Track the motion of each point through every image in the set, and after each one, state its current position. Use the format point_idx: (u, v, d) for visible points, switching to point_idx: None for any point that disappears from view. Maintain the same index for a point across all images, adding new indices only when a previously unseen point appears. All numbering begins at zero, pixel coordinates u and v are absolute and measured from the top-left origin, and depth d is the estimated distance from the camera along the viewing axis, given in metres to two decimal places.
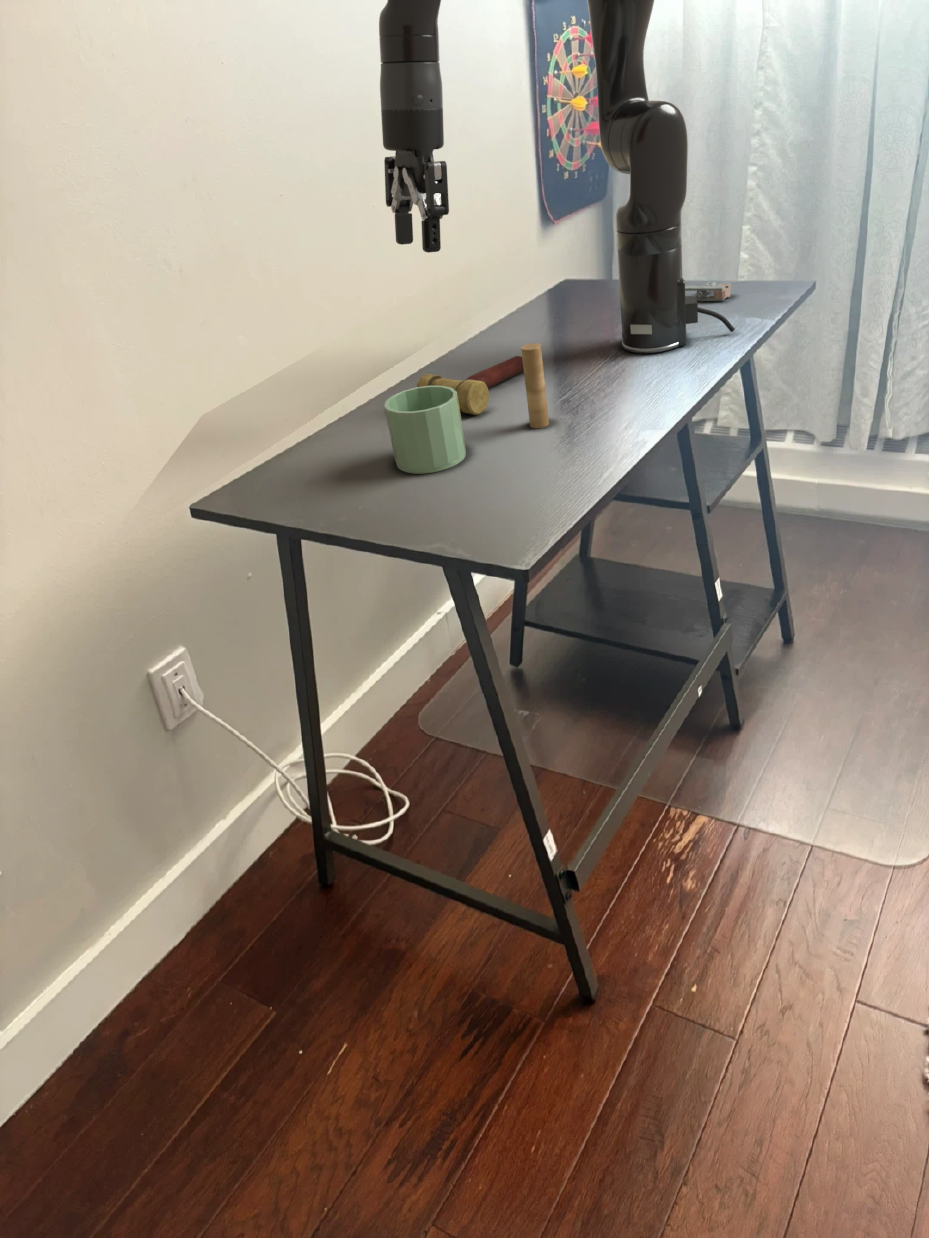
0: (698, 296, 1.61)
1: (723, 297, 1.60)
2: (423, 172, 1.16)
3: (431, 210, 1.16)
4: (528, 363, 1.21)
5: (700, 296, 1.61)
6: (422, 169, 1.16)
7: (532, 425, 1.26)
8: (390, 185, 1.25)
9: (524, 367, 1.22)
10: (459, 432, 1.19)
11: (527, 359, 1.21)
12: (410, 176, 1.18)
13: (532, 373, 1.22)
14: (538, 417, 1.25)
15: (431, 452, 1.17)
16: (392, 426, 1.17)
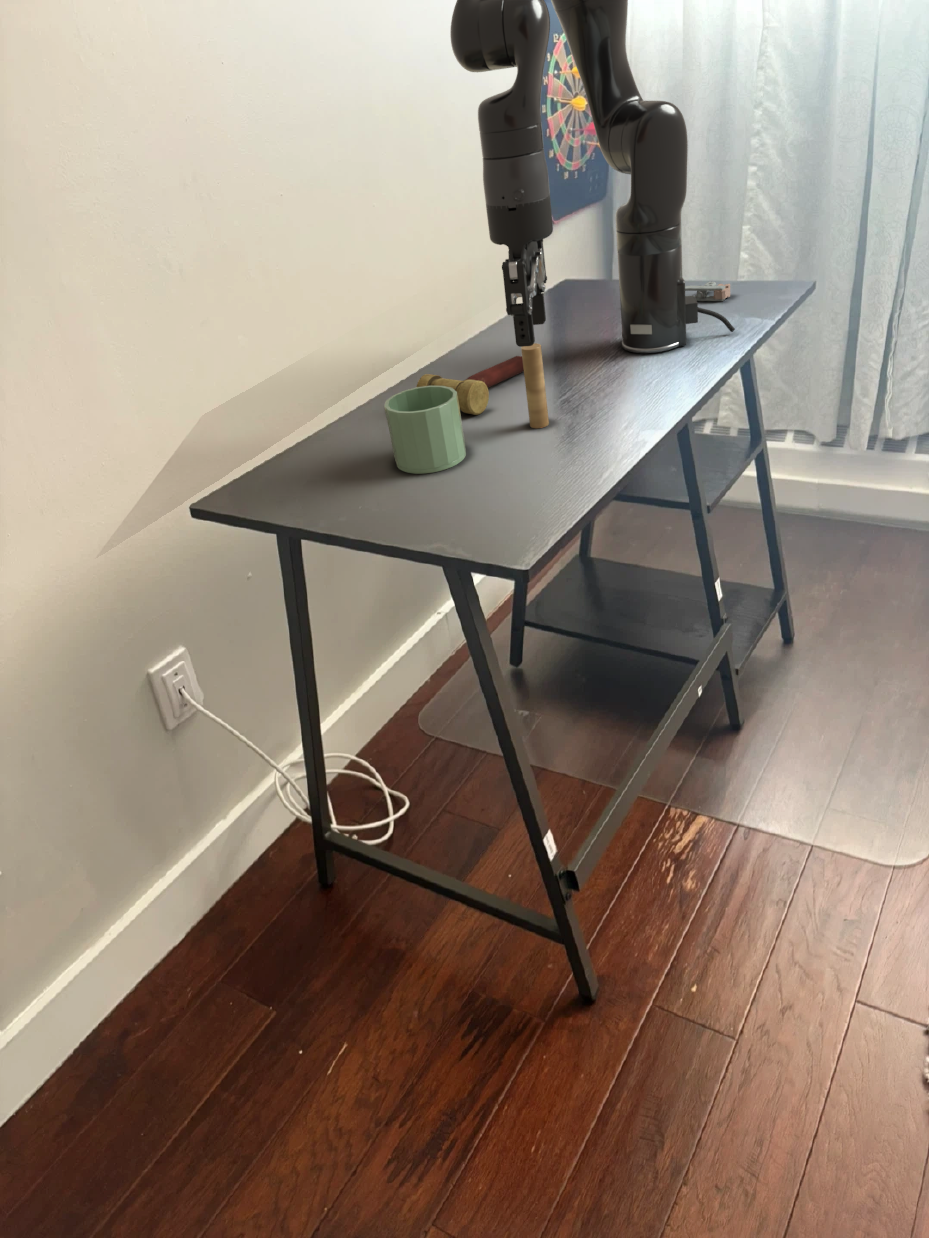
0: (698, 296, 1.61)
1: (723, 297, 1.60)
2: None
3: (545, 276, 1.23)
4: (528, 363, 1.21)
5: (700, 296, 1.61)
6: None
7: (532, 425, 1.26)
8: None
9: (524, 367, 1.22)
10: (459, 432, 1.19)
11: (527, 359, 1.21)
12: None
13: (532, 373, 1.22)
14: (538, 417, 1.25)
15: (431, 452, 1.17)
16: (392, 426, 1.17)
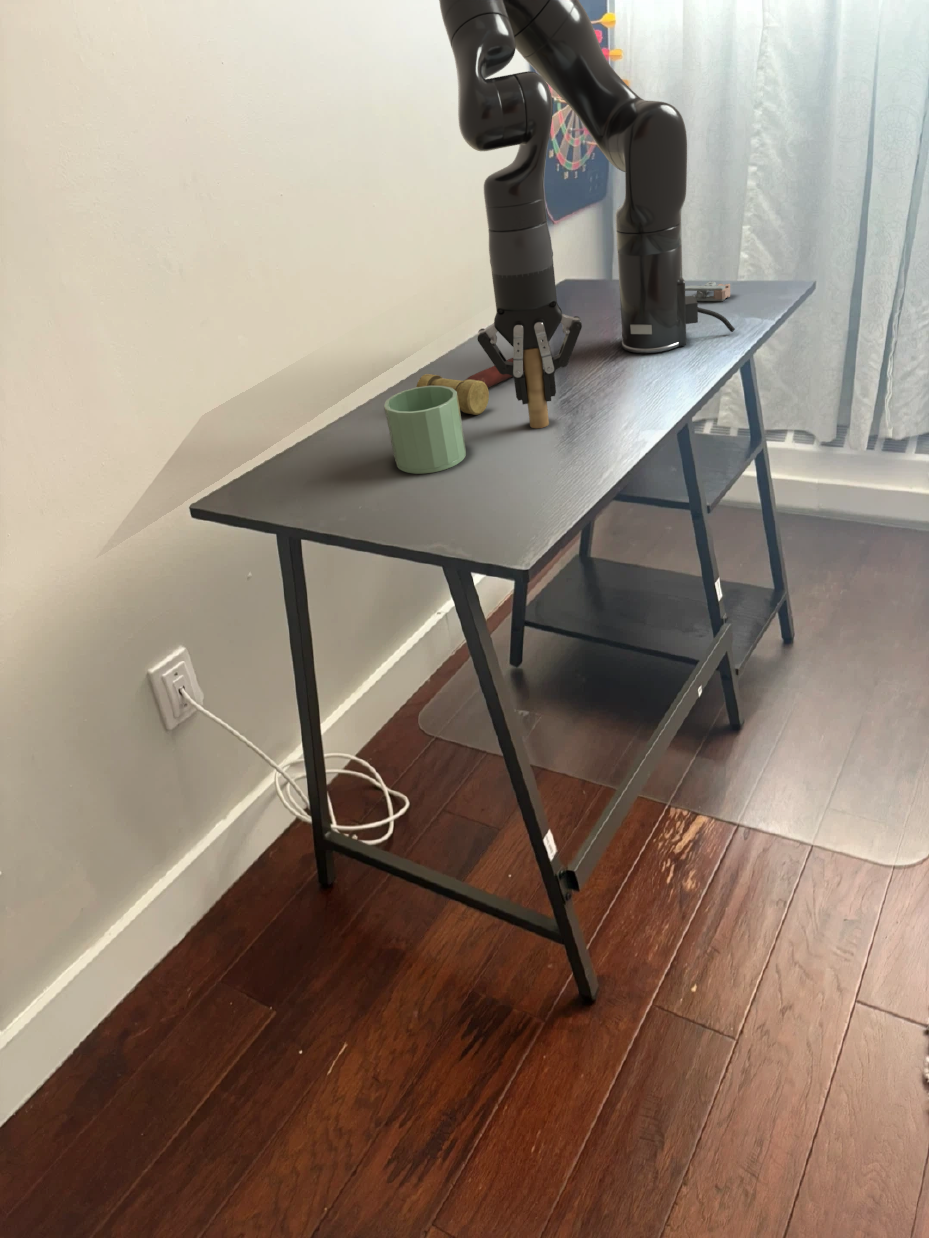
0: (698, 296, 1.61)
1: (723, 297, 1.60)
2: None
3: None
4: (528, 363, 1.21)
5: (700, 296, 1.61)
6: None
7: (532, 425, 1.26)
8: (563, 340, 1.21)
9: (524, 367, 1.22)
10: (459, 432, 1.19)
11: (527, 359, 1.21)
12: None
13: (532, 373, 1.22)
14: (538, 417, 1.25)
15: (431, 452, 1.17)
16: (392, 426, 1.17)
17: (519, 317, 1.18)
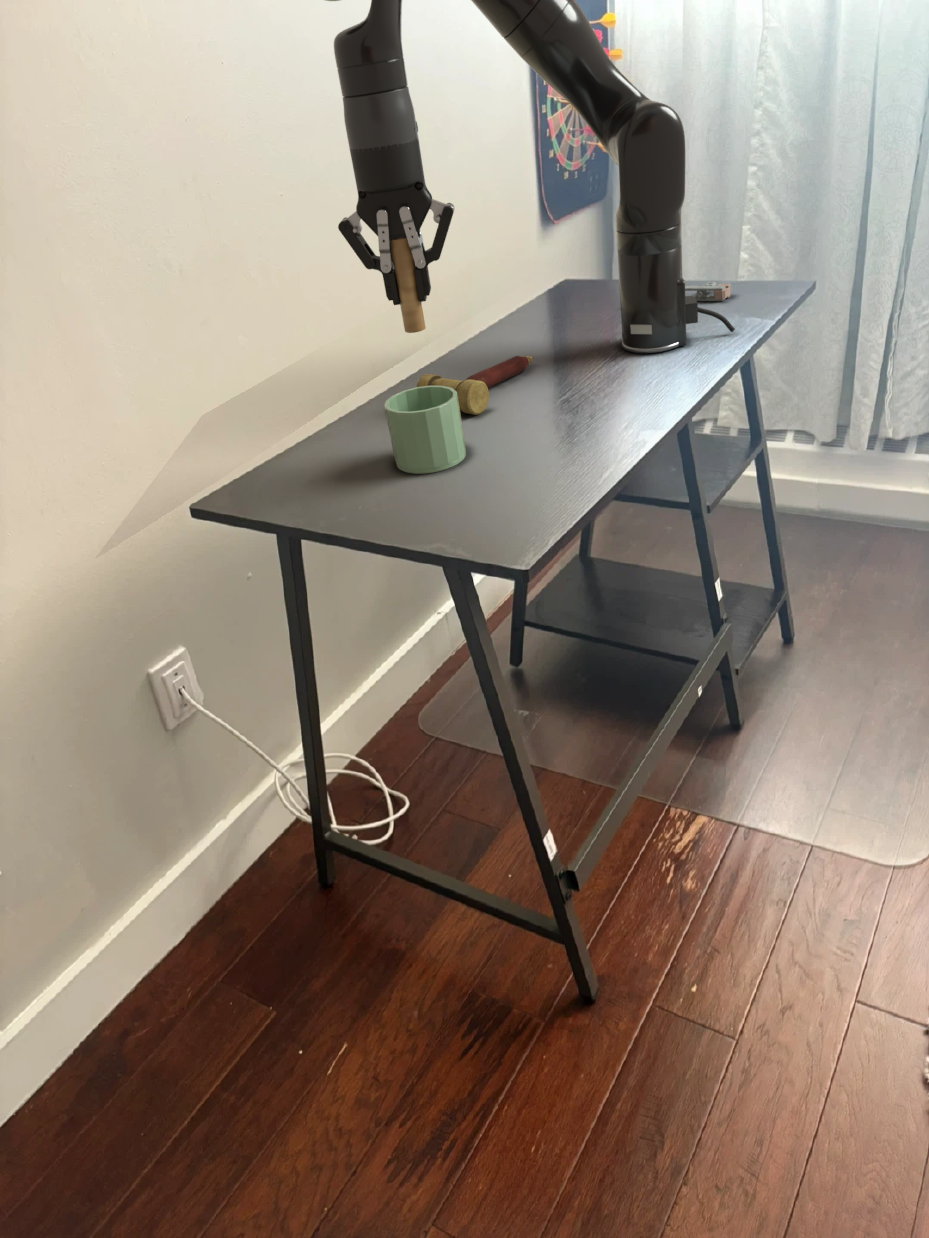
0: (698, 296, 1.61)
1: (723, 297, 1.60)
2: None
3: None
4: (397, 256, 1.09)
5: (700, 296, 1.61)
6: None
7: (406, 329, 1.13)
8: None
9: (393, 262, 1.10)
10: (459, 432, 1.19)
11: (395, 251, 1.08)
12: None
13: (402, 268, 1.09)
14: (412, 320, 1.12)
15: (431, 452, 1.17)
16: (392, 426, 1.17)
17: (382, 201, 1.06)
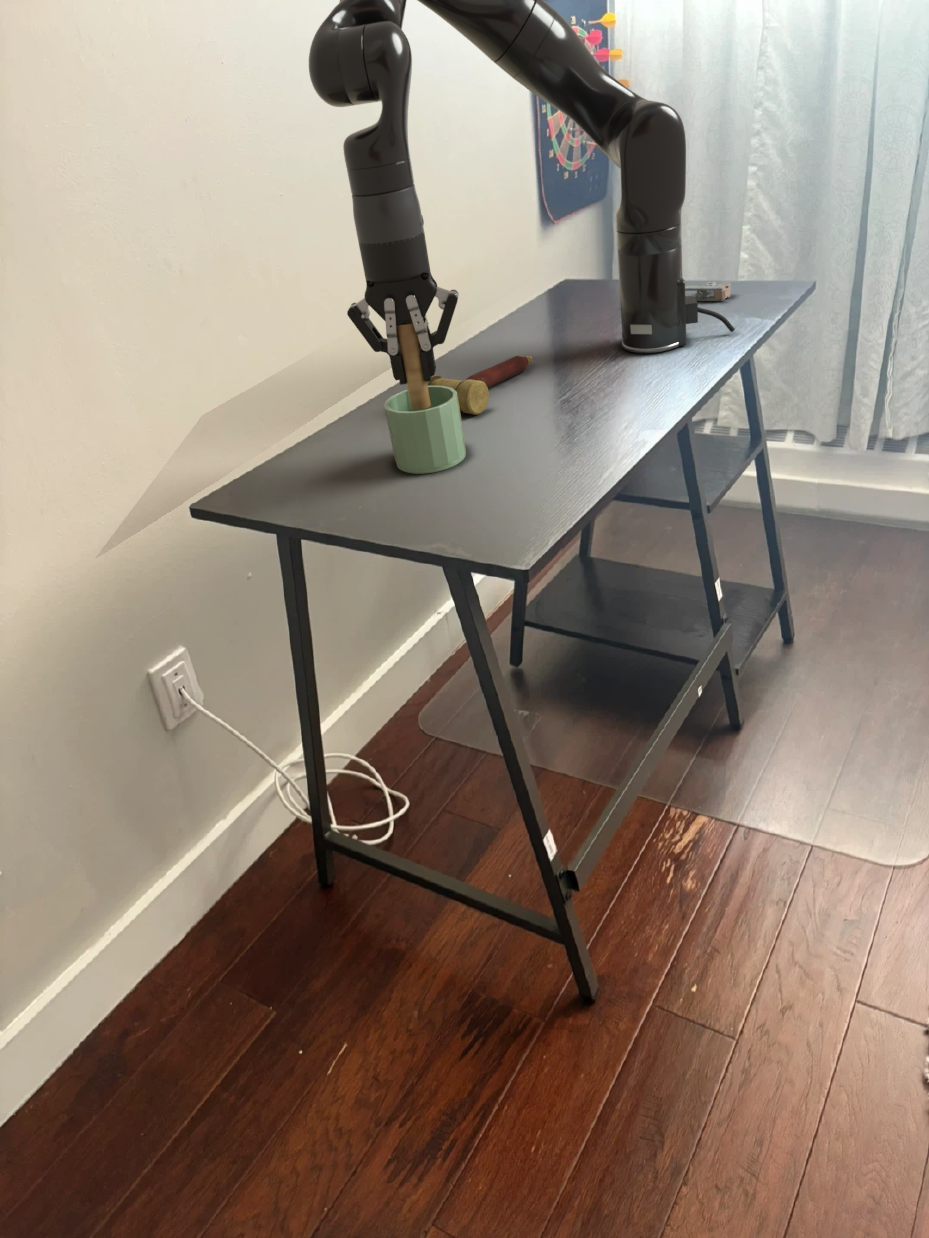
0: (698, 296, 1.61)
1: (723, 297, 1.60)
2: None
3: None
4: (403, 340, 1.13)
5: (700, 296, 1.61)
6: None
7: (412, 407, 1.18)
8: None
9: (399, 344, 1.14)
10: (459, 432, 1.19)
11: (401, 335, 1.13)
12: None
13: (408, 351, 1.14)
14: (418, 398, 1.17)
15: (431, 452, 1.17)
16: (392, 426, 1.17)
17: (390, 289, 1.10)
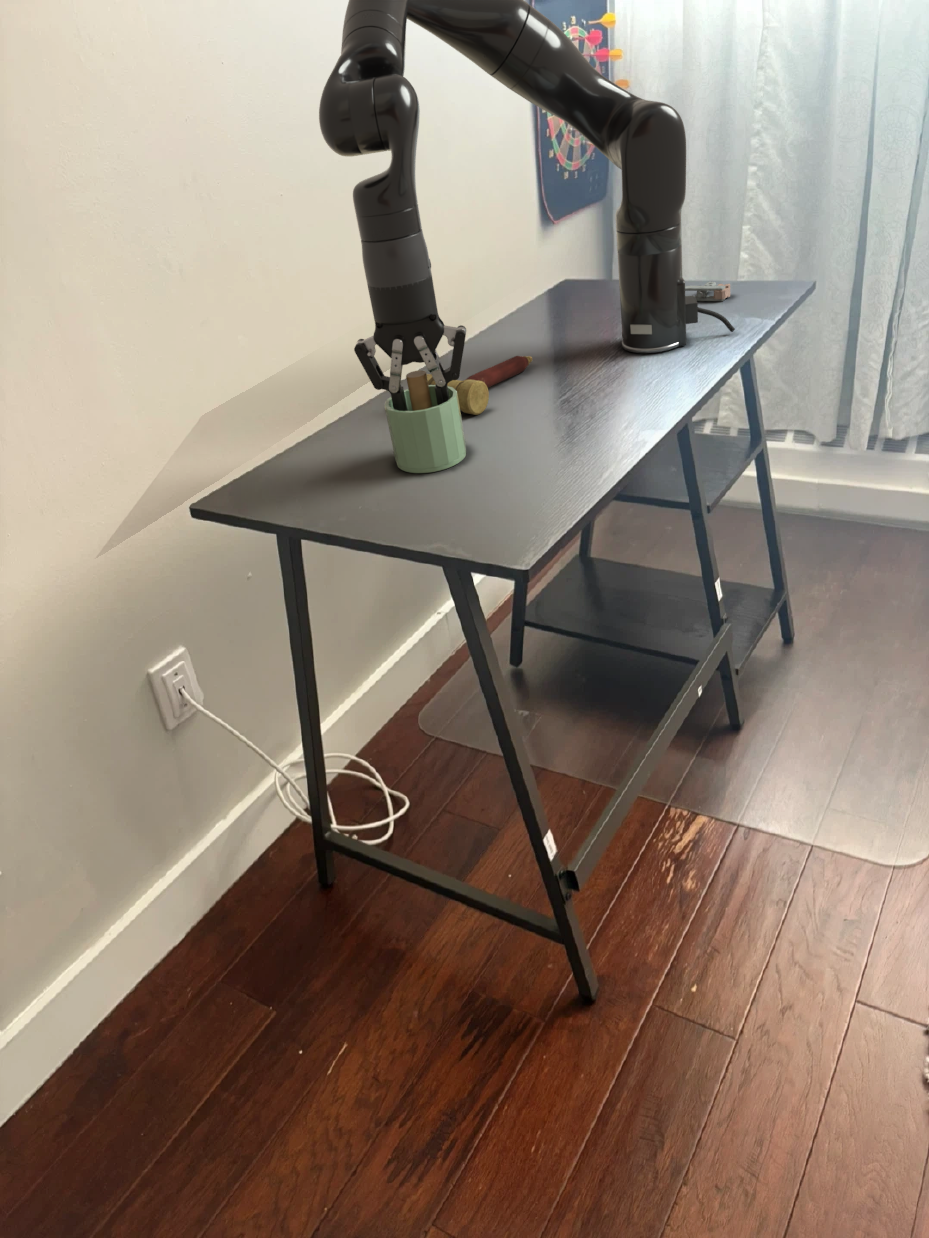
0: (698, 296, 1.61)
1: (723, 297, 1.60)
2: None
3: None
4: (413, 391, 1.17)
5: (700, 296, 1.61)
6: None
7: None
8: None
9: (410, 395, 1.18)
10: (459, 431, 1.19)
11: (412, 387, 1.16)
12: None
13: (418, 402, 1.17)
14: None
15: (431, 451, 1.17)
16: (392, 426, 1.17)
17: (398, 330, 1.13)
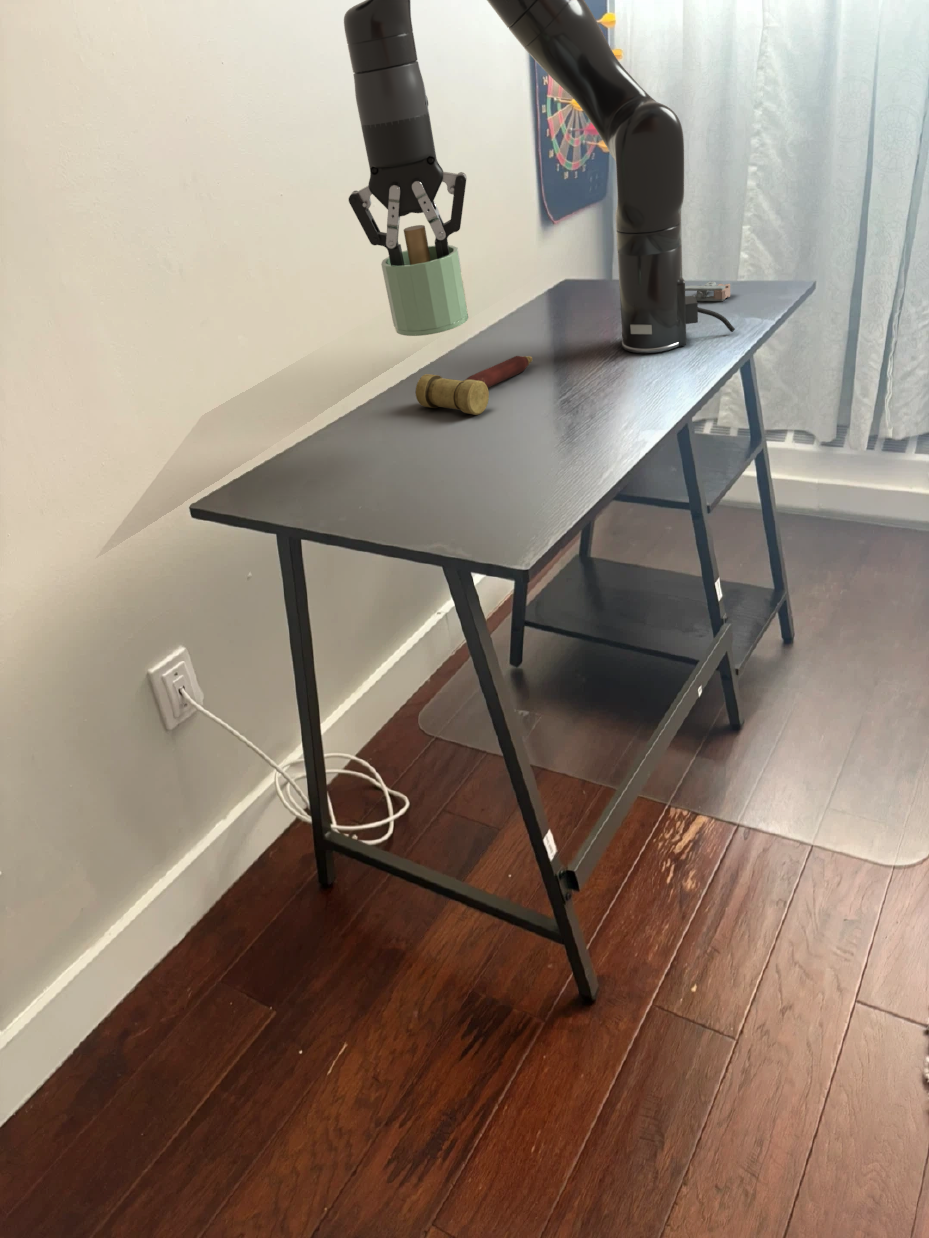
0: (698, 296, 1.61)
1: (723, 297, 1.60)
2: None
3: None
4: (412, 246, 1.10)
5: (700, 296, 1.61)
6: None
7: None
8: None
9: (408, 252, 1.11)
10: (461, 291, 1.13)
11: (410, 242, 1.10)
12: None
13: (417, 258, 1.11)
14: None
15: (432, 310, 1.11)
16: (390, 284, 1.11)
17: (395, 176, 1.06)
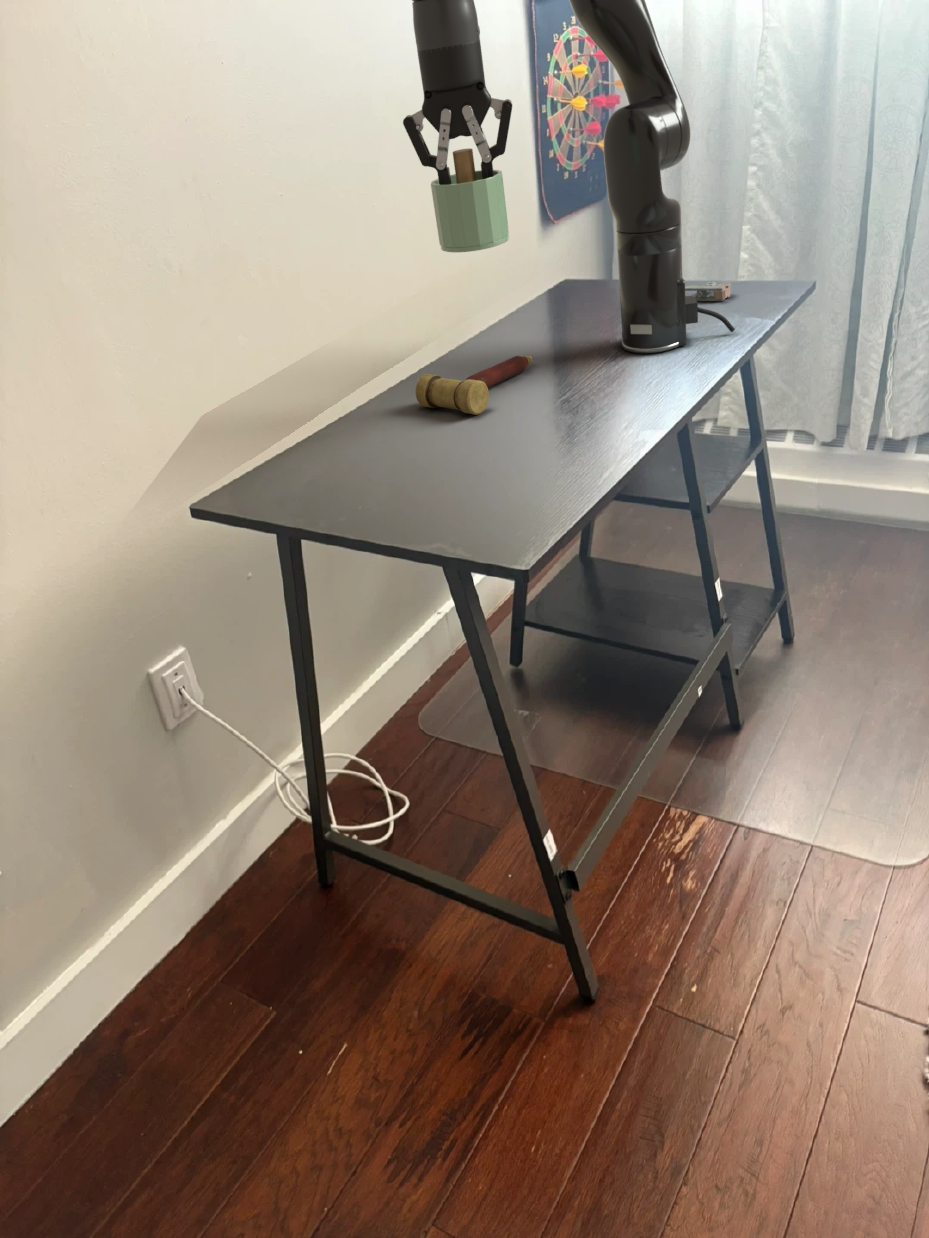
0: (698, 296, 1.61)
1: (723, 297, 1.60)
2: None
3: None
4: (460, 168, 1.19)
5: (700, 296, 1.61)
6: None
7: None
8: None
9: (456, 173, 1.20)
10: (504, 211, 1.22)
11: (458, 163, 1.19)
12: None
13: (464, 179, 1.20)
14: None
15: (477, 228, 1.20)
16: (439, 203, 1.20)
17: (446, 101, 1.15)
